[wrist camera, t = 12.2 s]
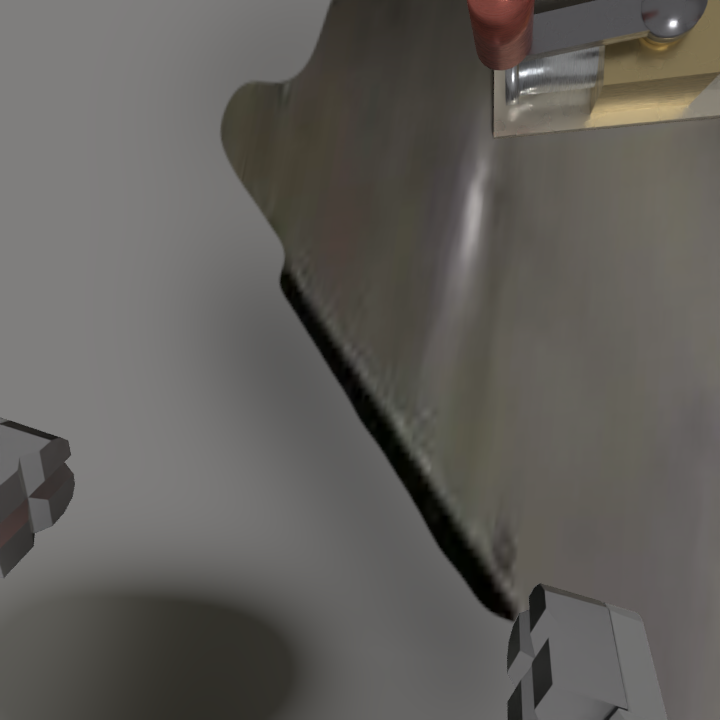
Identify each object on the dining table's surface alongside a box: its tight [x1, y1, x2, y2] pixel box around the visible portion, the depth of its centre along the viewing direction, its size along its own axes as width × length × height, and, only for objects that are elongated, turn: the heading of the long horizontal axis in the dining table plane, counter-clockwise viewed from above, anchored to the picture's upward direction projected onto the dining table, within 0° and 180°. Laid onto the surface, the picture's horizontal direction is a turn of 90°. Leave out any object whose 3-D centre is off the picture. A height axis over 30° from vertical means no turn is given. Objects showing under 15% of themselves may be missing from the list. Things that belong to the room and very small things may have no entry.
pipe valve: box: [494, 0, 720, 139], centre depth 39 cm, size 22×9×9 cm, turn 91°
